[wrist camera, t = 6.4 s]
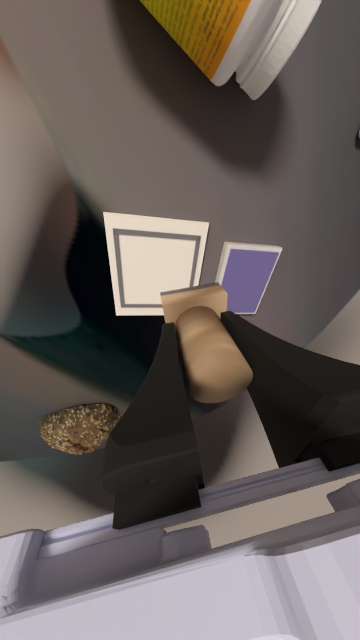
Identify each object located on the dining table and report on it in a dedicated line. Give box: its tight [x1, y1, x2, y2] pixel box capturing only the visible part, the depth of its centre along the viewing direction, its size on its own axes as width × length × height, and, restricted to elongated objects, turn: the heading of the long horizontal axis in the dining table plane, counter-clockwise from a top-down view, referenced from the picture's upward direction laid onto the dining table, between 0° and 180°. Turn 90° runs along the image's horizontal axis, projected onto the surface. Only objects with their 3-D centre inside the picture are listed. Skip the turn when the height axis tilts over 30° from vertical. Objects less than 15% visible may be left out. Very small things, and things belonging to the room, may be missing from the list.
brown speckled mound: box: [39, 403, 121, 455], centre depth 30 cm, size 13×12×5 cm
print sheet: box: [103, 212, 209, 315], centre depth 18 cm, size 9×10×1 cm
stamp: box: [160, 282, 253, 403], centre depth 10 cm, size 4×4×6 cm
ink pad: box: [215, 242, 282, 314], centre depth 20 cm, size 6×8×1 cm
